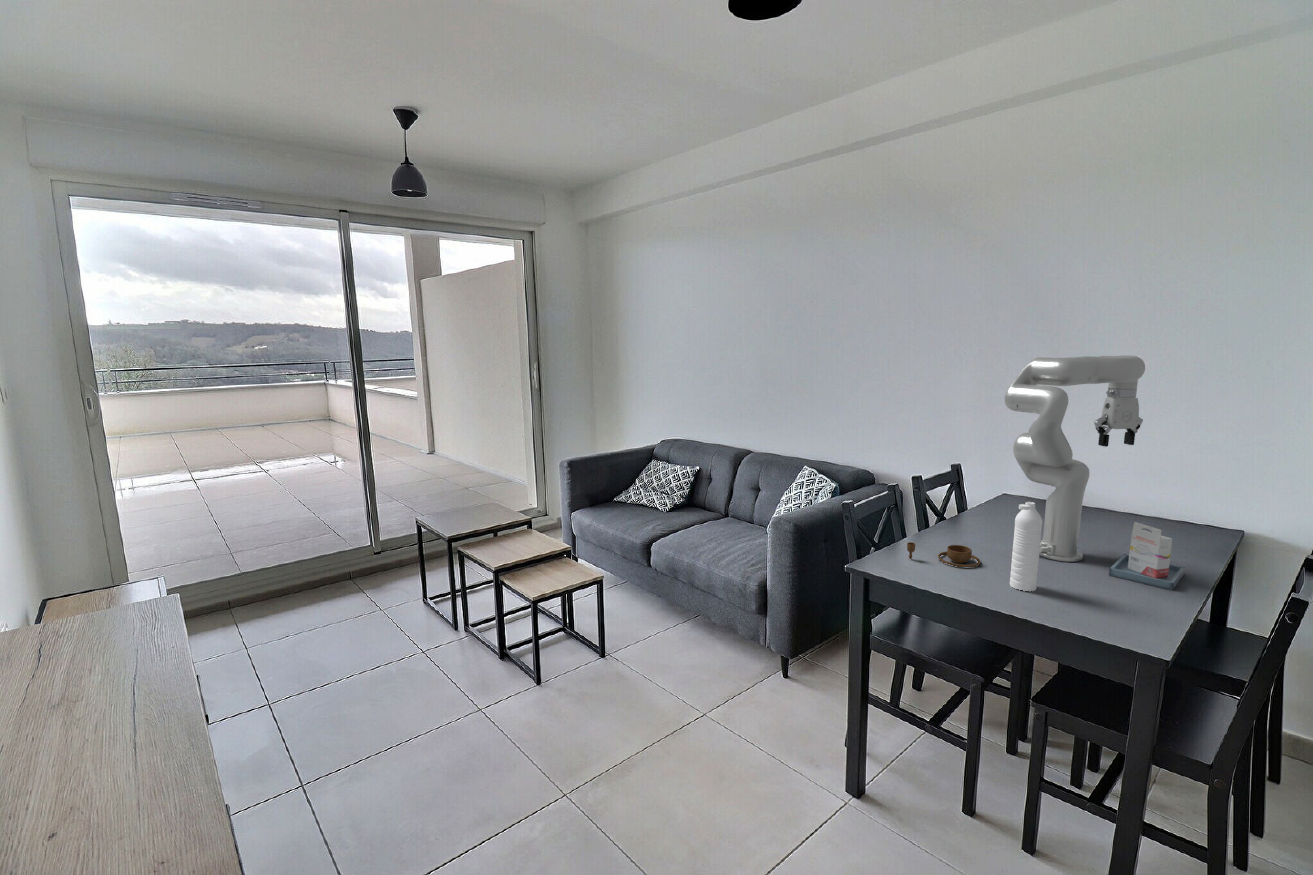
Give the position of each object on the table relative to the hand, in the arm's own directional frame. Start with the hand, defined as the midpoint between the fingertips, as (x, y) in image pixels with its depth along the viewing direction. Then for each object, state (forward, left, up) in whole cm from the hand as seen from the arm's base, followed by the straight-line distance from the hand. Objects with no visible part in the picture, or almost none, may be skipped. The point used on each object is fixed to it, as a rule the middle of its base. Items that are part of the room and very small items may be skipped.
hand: (1115, 445), depth 202 cm
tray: (-13, -27, -33) cm, 45 cm away
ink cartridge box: (-13, -27, -33) cm, 44 cm away
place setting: (-62, -3, -34) cm, 71 cm away
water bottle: (-55, -28, -34) cm, 70 cm away
